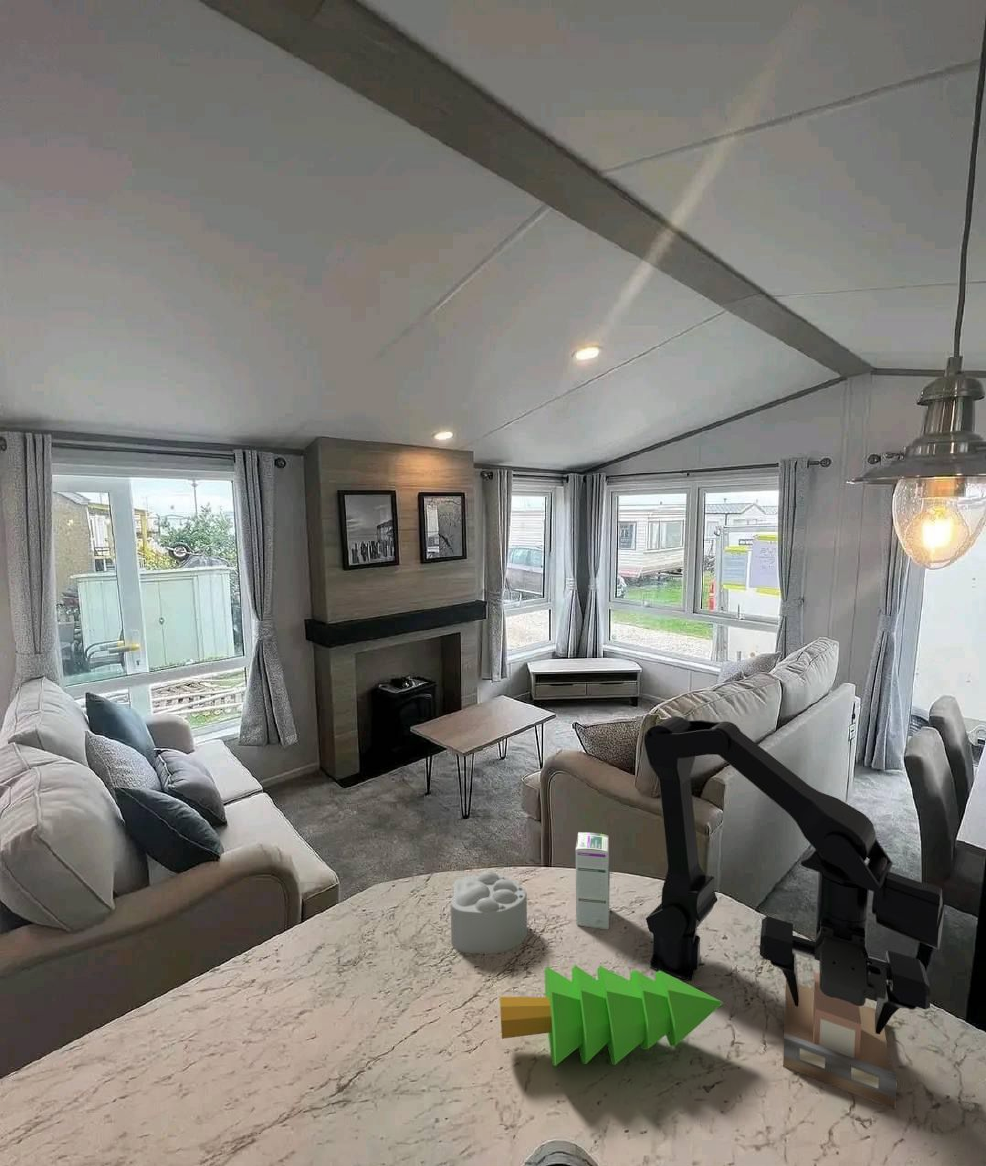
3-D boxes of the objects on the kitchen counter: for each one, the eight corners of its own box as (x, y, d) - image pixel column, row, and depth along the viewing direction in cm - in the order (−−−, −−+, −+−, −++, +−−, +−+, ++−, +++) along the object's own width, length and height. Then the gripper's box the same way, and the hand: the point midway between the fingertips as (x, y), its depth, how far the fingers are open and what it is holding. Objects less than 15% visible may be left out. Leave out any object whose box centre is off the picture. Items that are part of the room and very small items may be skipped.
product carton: (812, 1011, 81) (814, 971, 80) (854, 1025, 78) (856, 985, 78) (813, 1052, 75) (815, 1010, 74) (858, 1069, 72) (861, 1025, 72)
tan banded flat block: (782, 1067, 74) (784, 1039, 74) (785, 989, 87) (786, 964, 86) (895, 1111, 68) (897, 1080, 68) (880, 1020, 81) (882, 994, 81)
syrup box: (609, 930, 100) (610, 851, 98) (575, 926, 101) (575, 847, 99) (609, 909, 105) (610, 833, 104) (576, 905, 106) (577, 830, 105)
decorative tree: (497, 950, 79) (714, 936, 79) (500, 995, 84) (702, 982, 84) (502, 1048, 69) (750, 1032, 69) (504, 1092, 74) (734, 1077, 74)
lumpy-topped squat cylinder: (455, 911, 105) (454, 866, 104) (526, 912, 105) (525, 867, 104) (449, 953, 95) (448, 904, 94) (527, 954, 94) (527, 904, 93)
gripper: (759, 922, 72) (754, 1036, 74) (944, 976, 63) (935, 1103, 65) (764, 875, 82) (760, 976, 83) (925, 915, 73) (917, 1028, 75)
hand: (835, 1017), depth 76 cm, fingers open, 9 cm apart
